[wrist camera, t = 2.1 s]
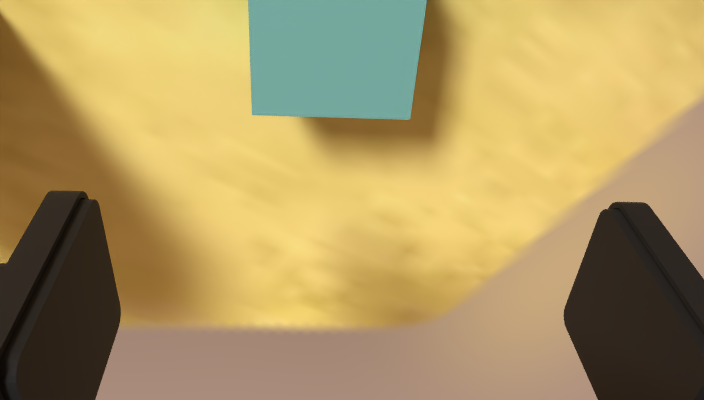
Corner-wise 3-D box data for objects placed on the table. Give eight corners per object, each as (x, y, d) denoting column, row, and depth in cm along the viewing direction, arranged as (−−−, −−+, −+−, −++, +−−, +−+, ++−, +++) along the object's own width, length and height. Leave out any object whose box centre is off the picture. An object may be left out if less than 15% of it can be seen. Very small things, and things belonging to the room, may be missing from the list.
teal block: (258, -95, 21) (246, -51, 17) (408, -86, 21) (432, -41, 17) (261, 48, 24) (252, 115, 20) (393, 53, 24) (409, 119, 20)
